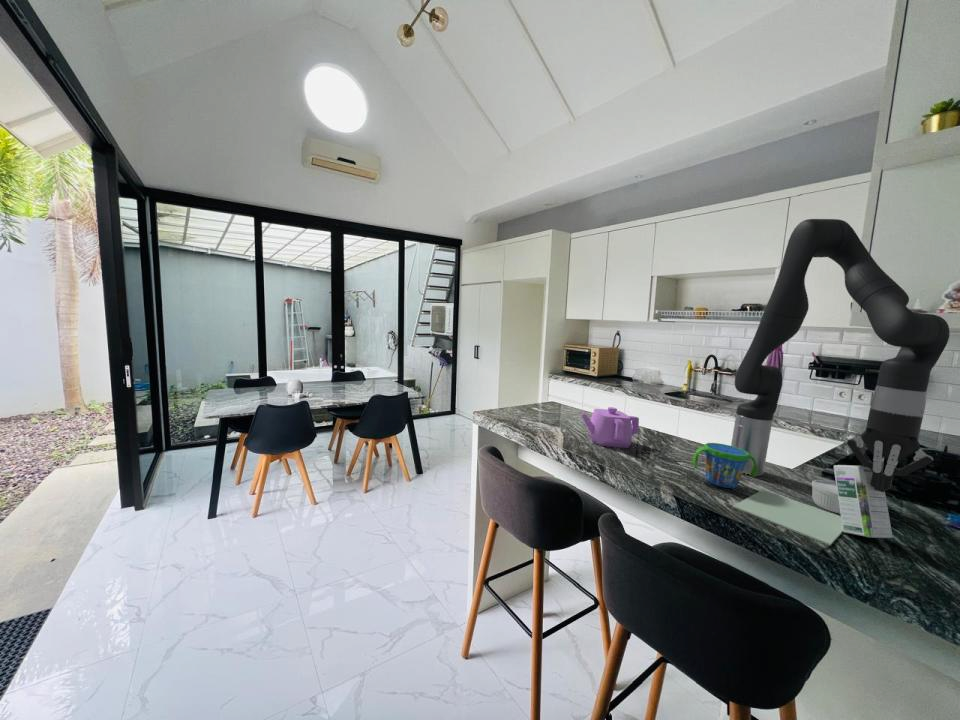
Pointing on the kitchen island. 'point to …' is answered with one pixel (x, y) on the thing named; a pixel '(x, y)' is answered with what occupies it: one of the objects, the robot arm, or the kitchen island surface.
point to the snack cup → (724, 464)
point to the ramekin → (826, 495)
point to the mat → (793, 516)
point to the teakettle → (611, 427)
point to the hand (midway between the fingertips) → (879, 490)
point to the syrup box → (861, 503)
